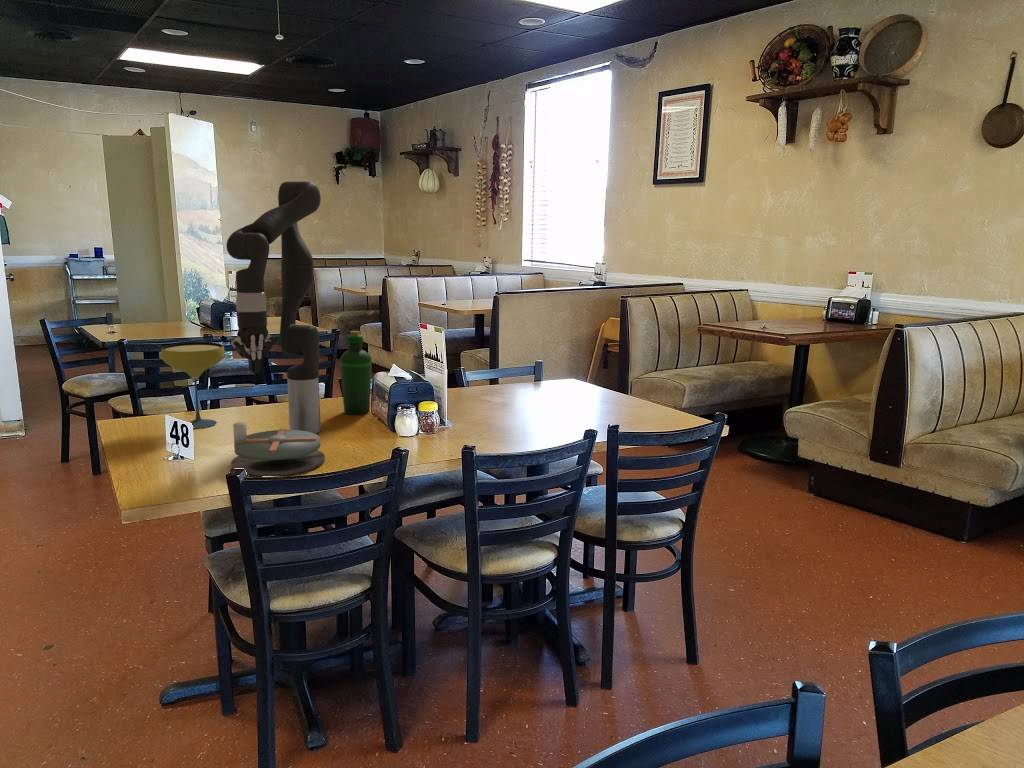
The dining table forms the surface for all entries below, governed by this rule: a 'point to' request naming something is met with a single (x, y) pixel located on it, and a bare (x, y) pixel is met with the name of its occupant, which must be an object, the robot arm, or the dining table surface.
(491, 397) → the dining table surface
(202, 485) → the dining table surface
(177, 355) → the cocktail glass
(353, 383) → the bottle
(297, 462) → the base
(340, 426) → the dining table surface
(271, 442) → the handwheel
